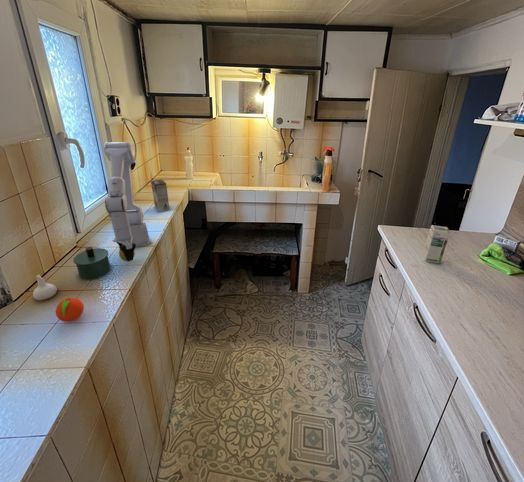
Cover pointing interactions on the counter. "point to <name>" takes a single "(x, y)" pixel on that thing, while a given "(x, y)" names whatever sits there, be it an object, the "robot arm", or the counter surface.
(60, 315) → the red tomato
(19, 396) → the counter surface
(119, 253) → the lemon
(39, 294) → the garlic bulb
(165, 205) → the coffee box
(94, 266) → the pot
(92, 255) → the pot lid
